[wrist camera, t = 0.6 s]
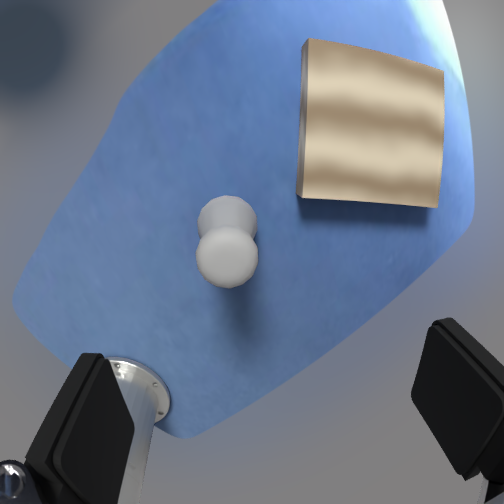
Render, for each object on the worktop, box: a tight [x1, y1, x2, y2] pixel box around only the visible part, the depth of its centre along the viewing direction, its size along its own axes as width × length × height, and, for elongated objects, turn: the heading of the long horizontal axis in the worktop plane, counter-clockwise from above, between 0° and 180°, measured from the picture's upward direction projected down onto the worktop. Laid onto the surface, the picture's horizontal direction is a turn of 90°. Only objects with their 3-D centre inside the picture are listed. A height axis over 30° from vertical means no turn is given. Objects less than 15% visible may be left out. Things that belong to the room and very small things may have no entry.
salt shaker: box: [196, 195, 258, 288], centre depth 27 cm, size 6×6×13 cm
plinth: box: [296, 38, 444, 208], centre depth 30 cm, size 16×16×3 cm
